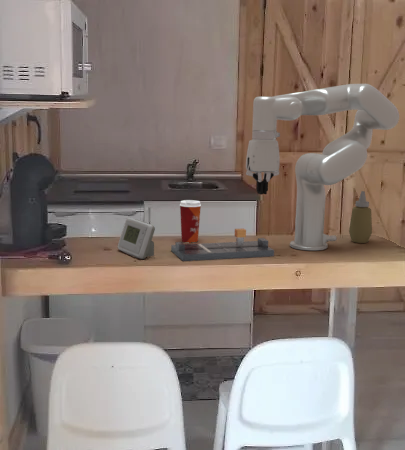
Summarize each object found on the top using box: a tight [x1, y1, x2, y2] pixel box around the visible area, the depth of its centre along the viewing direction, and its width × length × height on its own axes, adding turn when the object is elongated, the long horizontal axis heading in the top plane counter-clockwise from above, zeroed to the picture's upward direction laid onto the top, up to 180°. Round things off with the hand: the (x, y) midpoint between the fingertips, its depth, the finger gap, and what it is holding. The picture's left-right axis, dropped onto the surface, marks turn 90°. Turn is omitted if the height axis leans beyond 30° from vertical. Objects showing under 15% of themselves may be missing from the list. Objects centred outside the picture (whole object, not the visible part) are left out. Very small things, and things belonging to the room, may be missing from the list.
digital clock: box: [117, 217, 156, 260], centre depth 208 cm, size 16×9×11 cm, turn 23°
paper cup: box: [179, 199, 202, 244], centre depth 228 cm, size 8×8×14 cm
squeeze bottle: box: [348, 190, 373, 244], centre depth 233 cm, size 8×8×18 cm
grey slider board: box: [170, 237, 275, 262], centre depth 211 cm, size 30×14×4 cm, turn 107°
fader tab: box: [234, 228, 247, 246], centre depth 213 cm, size 3×2×5 cm
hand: (261, 193), depth 212 cm, fingers closed
